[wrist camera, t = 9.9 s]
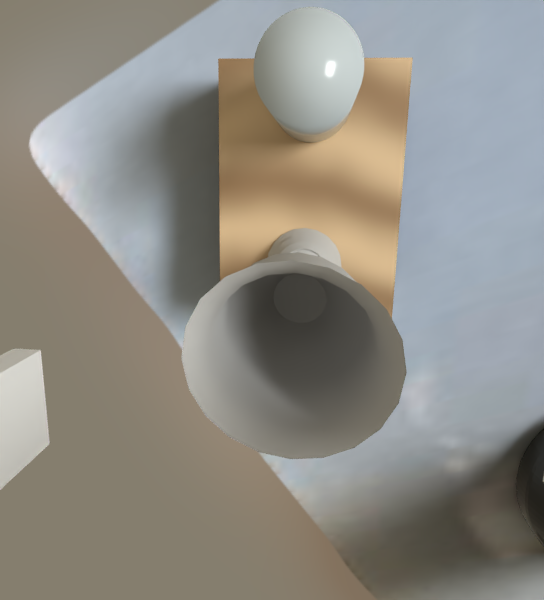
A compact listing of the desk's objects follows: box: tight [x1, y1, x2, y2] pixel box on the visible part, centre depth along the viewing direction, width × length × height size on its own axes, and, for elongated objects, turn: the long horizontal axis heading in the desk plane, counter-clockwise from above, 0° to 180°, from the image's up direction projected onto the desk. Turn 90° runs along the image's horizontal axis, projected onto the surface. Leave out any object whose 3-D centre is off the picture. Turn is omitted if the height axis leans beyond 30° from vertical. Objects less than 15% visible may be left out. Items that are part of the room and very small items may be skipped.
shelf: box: [218, 58, 412, 319], centre depth 35 cm, size 17×12×6 cm
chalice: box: [182, 228, 406, 459], centre depth 24 cm, size 7×7×18 cm
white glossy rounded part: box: [254, 7, 364, 143], centre depth 26 cm, size 5×5×9 cm
